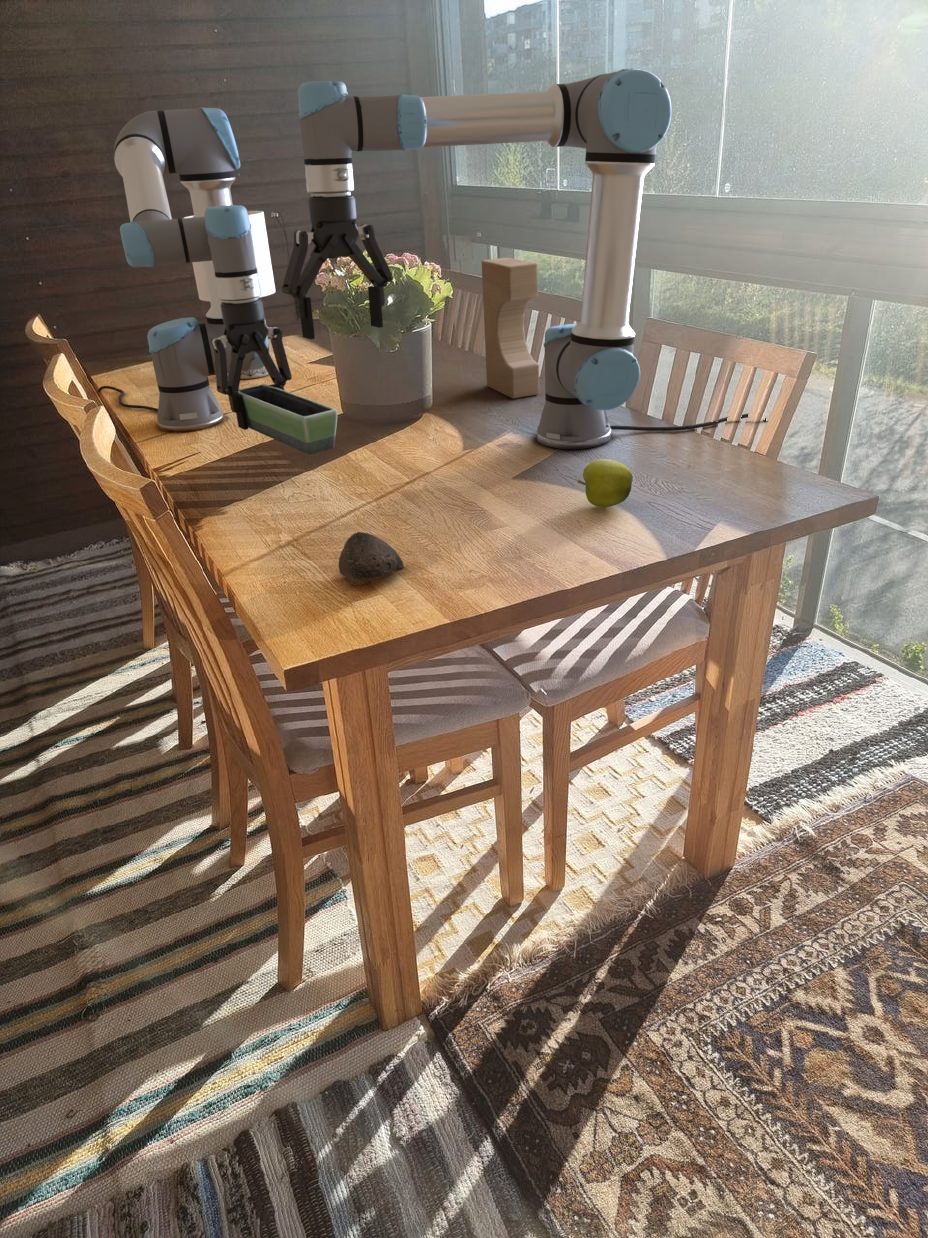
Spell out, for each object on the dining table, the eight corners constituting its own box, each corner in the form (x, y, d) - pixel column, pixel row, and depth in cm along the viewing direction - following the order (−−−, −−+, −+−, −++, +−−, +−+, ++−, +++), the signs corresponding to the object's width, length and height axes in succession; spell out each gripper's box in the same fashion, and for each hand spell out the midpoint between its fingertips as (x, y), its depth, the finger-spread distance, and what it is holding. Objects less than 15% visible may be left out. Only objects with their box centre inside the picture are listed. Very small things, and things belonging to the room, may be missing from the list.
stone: (370, 582, 138) (319, 551, 133) (405, 543, 136) (354, 511, 130) (380, 619, 131) (327, 588, 125) (417, 579, 128) (364, 545, 123)
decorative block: (540, 394, 215) (538, 263, 201) (512, 399, 213) (508, 266, 198) (512, 381, 227) (509, 256, 213) (486, 386, 225) (480, 260, 210)
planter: (237, 427, 172) (231, 390, 168) (270, 419, 176) (265, 382, 172) (308, 458, 153) (302, 417, 149) (344, 449, 156) (339, 408, 153)
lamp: (301, 366, 256) (278, 209, 236) (258, 384, 240) (230, 217, 220) (244, 363, 264) (217, 211, 244) (199, 380, 248) (166, 219, 228)
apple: (575, 498, 154) (576, 454, 151) (628, 496, 154) (629, 451, 150) (579, 515, 148) (579, 469, 144) (634, 513, 147) (636, 467, 143)
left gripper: (197, 310, 152) (222, 439, 163) (299, 293, 163) (316, 415, 174) (180, 306, 157) (205, 431, 168) (279, 289, 168) (297, 408, 179)
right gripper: (271, 200, 131) (289, 346, 142) (408, 190, 145) (415, 324, 155) (249, 198, 137) (267, 339, 147) (383, 189, 150) (391, 319, 160)
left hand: (261, 423), depth 171 cm, fingers closed on planter, 7 cm apart
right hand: (343, 332), depth 151 cm, fingers open, 13 cm apart
